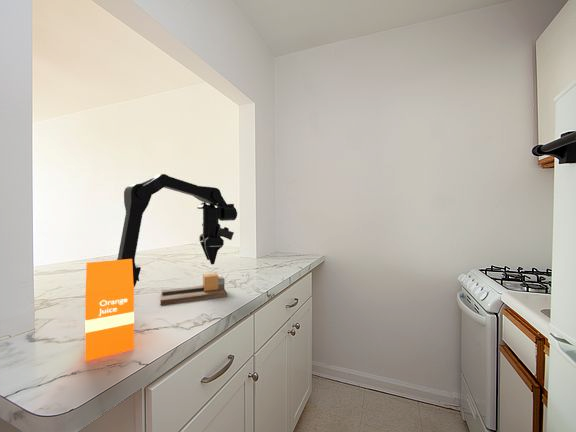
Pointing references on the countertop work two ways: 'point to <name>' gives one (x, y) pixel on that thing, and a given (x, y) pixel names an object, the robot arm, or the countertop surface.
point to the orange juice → (109, 308)
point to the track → (192, 293)
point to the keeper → (210, 281)
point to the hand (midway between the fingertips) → (210, 262)
